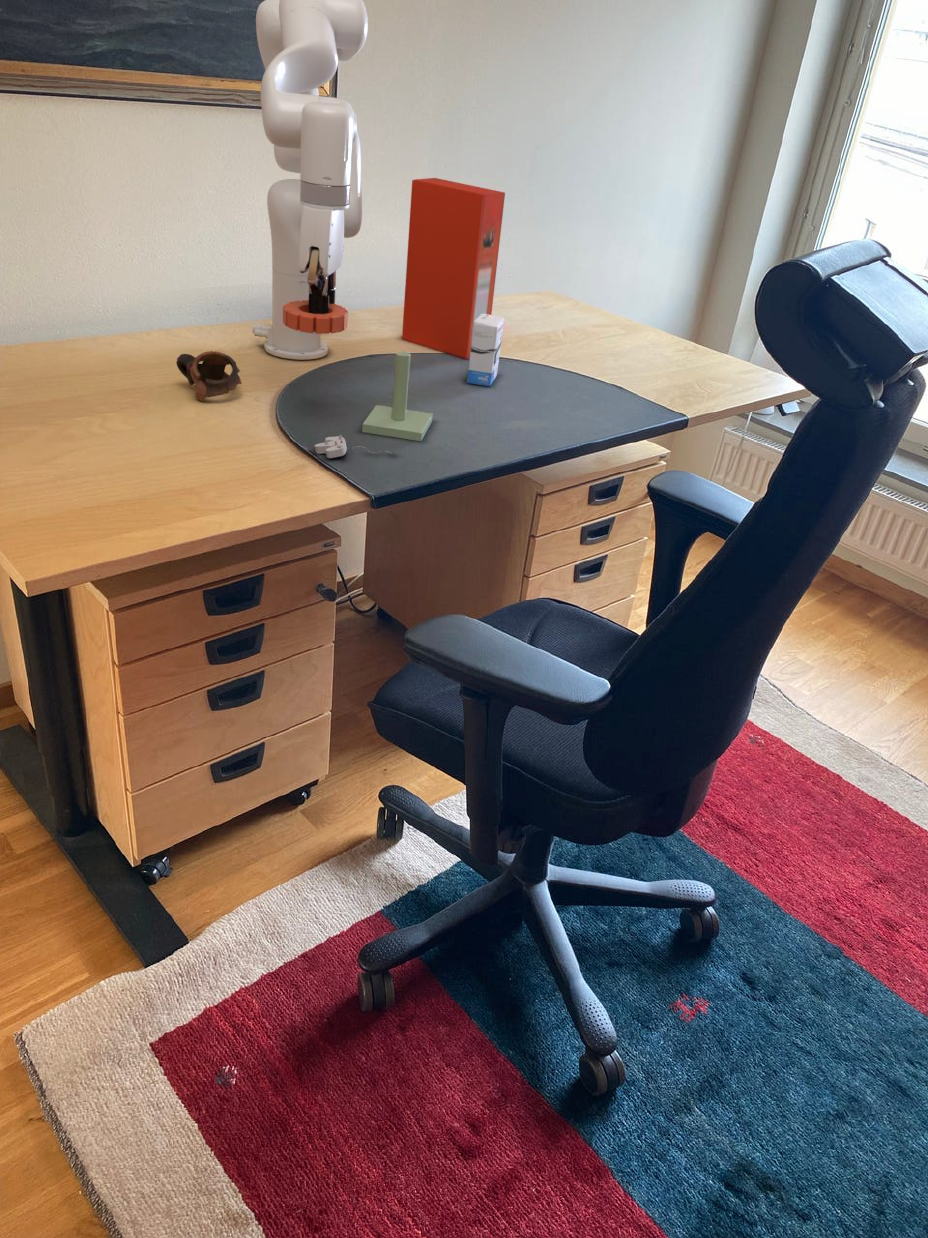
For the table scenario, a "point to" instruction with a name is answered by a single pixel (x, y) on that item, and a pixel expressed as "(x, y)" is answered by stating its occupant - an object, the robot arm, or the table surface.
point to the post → (398, 409)
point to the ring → (314, 318)
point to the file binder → (450, 262)
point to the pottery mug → (209, 373)
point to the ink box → (485, 349)
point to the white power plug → (333, 447)
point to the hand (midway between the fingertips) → (321, 315)
